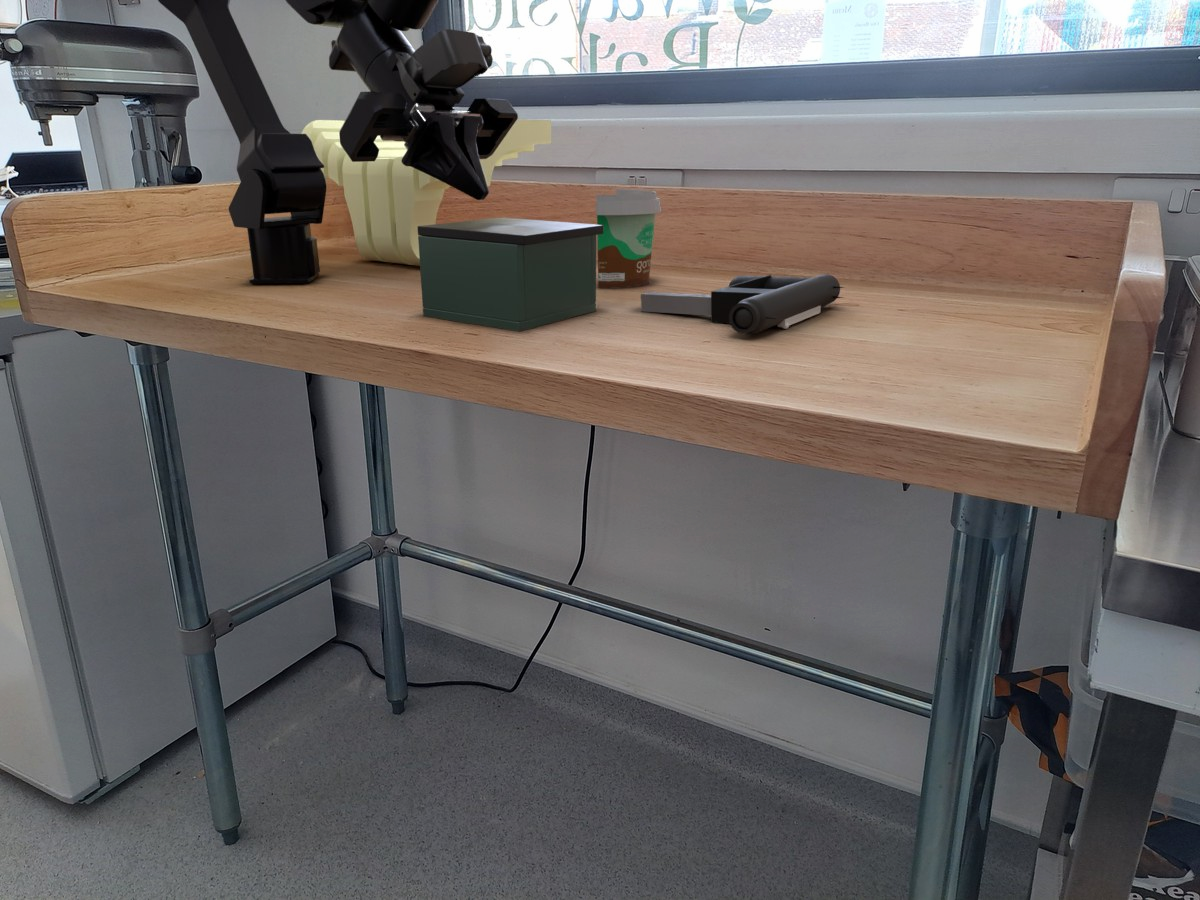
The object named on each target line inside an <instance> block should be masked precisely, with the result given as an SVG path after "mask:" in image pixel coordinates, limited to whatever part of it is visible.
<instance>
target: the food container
mask: <svg viewBox="0 0 1200 900" xmlns="http://www.w3.org/2000/svg"><path fill="white" fill-rule="evenodd" d="M657 194H658V193H657V191H654V190H653V191H652V190H646V189H645V190H644V189H624V188H623V189H619V188H617V189H615V194H596V202H595V216H596V225H603V226H604V229H603V234H599V235H596V242H597V288H598V289H600V288H601V289H620V288H621V289H622V288H623V289H624V288H635V287H641V286H645V285H647V284H649V283H650V274H651V263H652V253H653V245H654V244H653V242H654V232H655V223H656V222H655V221H656V220H655V219H656V214H659V213H661V212H662V208H661V202H660V198H659V197H658V195H657Z"/></svg>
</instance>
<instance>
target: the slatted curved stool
mask: <svg viewBox="0 0 1200 900" xmlns="http://www.w3.org/2000/svg"><path fill="white" fill-rule="evenodd" d="M344 122H345V120H339V119H337V120H336V119H335V120H334V119H315V120H312V121H310V122H308V123H307V124H306V125H305V126H304V128H303V129H302V131H301V133H300V134H306V135H307V136H308V137H309V138H310V140H311V141H312V144H313V147H314V150H315V153H316V155H317V157H318V158H319V160H320V161H321V162H322V164H323V165H324V168H321V170H322V172H323V174H324V177H325V180H326V179H330V180H332V181H333V182H334V183H335V184H337V186H338V187H343V194H344V196H343V197H344V199H345V202H346V205H347V209H348V212H349V216H350V219H351V220H350V221H351V224H352V228H353V229H352V230H353V237H354V241H355V245H356V249H357V250H358V253H359V254H360V256H361V257H362V258H363V259H365V260H367V261H375V262H382V263H383V262H385V263H391V264H400V265H408V266H415V267H416V266H417V267H420V257H419V242H418V236H422V235H418V226H424V225H434V224H437V216H438V212H439V208H440V205H441V204H442V201H443V197H444V194H445V190H448V189H450V188H451V187H452V186H450V185H448V184H446V183H444V182H442V181H440V180H438V179H436V178H434V177H432V176H430V175H428V174H426V173H424V172H421V171H419V170H417V169H415V168H413V167H410V166H405V165H404V164H403V163H402V158H403V156H404V155H405V153H406V152H407V149H406V147H405V146H404V144H405V143H406V142H404V141H383V140H382V139H381V138H380V136H377V138H376V139H375V141H374V143H375V144H376V146H377V147H378V149H379V153H378V157H377V158H376V160H375V161H367V162H352V161H351V159H350V158H349V156H348V155H347V153H346V152H345V151H344V149H343V148H342V146H341V144H340V136H339V132H340V129H341V127H342V126H343V124H344ZM538 145H552V120H551V119H550V120H549V119H524V118H523V119H521V118H518V119H517V120H516V122H515V123H514V125H513V126H512V127H511V129H510V130H509V132H508V133H507V135H506V136H505V137H504V139H503V140H502V142H501V143H500V145H499V146H498V147H497V149H496V150H495V152H494V153H493V155H491V156H490V157H488V158H487V159H480V163H481V166H482V169H483V173H484V176H485V180H486V183H487V186H488V187H491V184H492V176H493V173H494V169H495V167H503V161H505V160H506V161H507V160H518V159H519V153H532V152H533V153H534V152H535V146H538Z"/></svg>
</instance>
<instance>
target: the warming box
mask: <svg viewBox="0 0 1200 900" xmlns="http://www.w3.org/2000/svg"><path fill="white" fill-rule="evenodd" d="M418 242H419V257H420V266H419V271H420V285H421V287H420V288H421V299H422V300H421V302H422V316H423V317H426V318H433V319H439V320H445V321H450V322H451V321H453V322H458V323H464V324H469V325H477V326H482V327H489V328H497V329H501V330H502V329H503V330H508V331H514V332H522V331H526V330H531V329H534V328H538V327H542V326H546V325H550V324H553V323H556V322H560V321H564V320H567V319H571V318H575V317H579V316H582V315H586V314H590V313H594V312H597V235H592V236H585V237H578V238H571V239H564V240H558V241H551V242H544V243H537V244H530V245H516V244H506V243H495V242H485V241H474V240H464V239H453V238H443V237H432V236H418Z"/></svg>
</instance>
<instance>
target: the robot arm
mask: <svg viewBox="0 0 1200 900" xmlns="http://www.w3.org/2000/svg"><path fill="white" fill-rule="evenodd" d="M439 1H440V0H285V2H286V3H287V4H288V6H289V7H290V8H292V10H293V11H295V13H297V14H298V15H299V17H301V18H302V19H303V20H304V21H305V22H306V23H308V24H311V25H314V26H323V27H330V28H338V29H340V31H339V33H338V35H337V37H336V39H332V40H331V41H330V45H331V51H330V54H329V56H328V67H329V69H330V70H332V71H342V72H352V73H353V72H355V73H356V74H357V75H358V76H359V78H360V79H361V81H362V82H363V84H364V85H365V86H366V87H367V89H368V91H360V92H359V94H358V96H357V97H356V99H355V102H354V104H353V105H352V107H351V109H350V111H349V113H348V114H347V116H346V118H345V120H344V121H345V122H344V124H343V126H342V127H341V129H340V132H339V136H340V144H341V146H342V148H343V149H344V151H345V152H346V153H347V155H348V156H349V158H350V159H351V161H352V162H367V161H375V160H376V158H377V157H378V153H379V149H378V147H377V146H376V144H375V143H374V141H375V139H376V138H377V136H380V138H381V139H382V140H383V141H404V142H406V143H405V144H404V146H405V147H406V149H407V152H406V153H405V155H404V156H403V158H402V163H403V164H404V165H405V166H410V167H413V168H415V169H417V170H419V171H421V172H424V173H426V174H428V175H430V176H432V177H434V178H436V179H438V180H440V181H442V182H444V183H446V184H448V185H450V186H451V187H452V188H454V189H456V190H458V191H459V192H461V193H463V194H464V195H467V196H469V197H471V198H473V199H474V200H476V201H484V200H485V199H486V198H487V196H488V195H489V193H490V189H489V186H487V183H486V180H485V176H484V173H483V169H482V166H481V163H480V159H487V158H488V157H490V156H491V155H493V153H494V152H495V150H496V149H497V147H498V146H499V145H500V143H501V142H502V140H503V139H504V137H505V136H506V135H507V133H508V132H509V130H510V129H511V127H512V126H513V125H514V123H515V122H516V120H517V119H519V115H518V113H517V111H516V109H515V108H514V107H513V106H512V104H511V103H510V101H509V100H508V99H501V98H486V97H485V98H474V99H473V101H472V102H471V104H470V105H469V106H468V109H467V110H466V111H465V110H456V109H455V108H454V107H455V105H456V104H457V105H459V104H460V103H461V101H463V98H464V96H465V95H466V93H465V91H463V89H462V87H463V86H465V85H466V84H467V83H469V82H470V81H472V80H473V79H475V77H479V76H480V75H483V74H485V73H486V72H487V71H488V70H489V69H490V68H491V67H492V65H493V60H494V58H493V55H492V51H493V49H492V47H491V45H489V44H487V43H486V42H485V40H484V38H483V36H480V35H478V34H476V33H475V32H473V31H465V30H459V29H451V28H448V29H443V30H440V31H438V32H437V33H435V34H434V35H433V36H431V37H430V38H429V39H428V40H427V41H425V42H424V43H423V44H422V45H420V46H419V47H418V48H417V49H414V47H413V45H412V44H411V43H410V42H409V40H408V39H407V37H406V36H405V35H404V33H403V32H408V31H409V30H410V29H411V30H415V31H417V30H422V29H423V28H425V26H426V24H427V23H428V21H429V19H430V17H431V16H432V14H433V12H434V10H435V8H436V6H437V5H438V3H439ZM157 2H158V3H159V4H160V5H161V6H162V7H163V8H165V9H166V10H167V11H168V12H170V13H171V14H172V15H173V16H174V17H176V19H178V20H180V22H182V23H183V25H184V26H185V28H186V29H187V31H188V34H189V36H190V38H191V40H192V42H193V45H194V47H195V49H196V51H197V53H198V55H199V57H200V60H201V62H202V64H203V66H204V69H205V70H206V73H207V75H208V77H209V79H210V82H211V83H212V86H213V87H214V90H215V92H216V94H217V96H218V98H219V100H220V103H221V105H222V107H223V109H224V111H225V114H226V115H227V118H228V120H229V122H230V125H231V126H232V129H233V131H234V133H235V135H236V137H237V139H238V142H239V152H238V156H237V158H238V159H237V163H236V172H237V174H238V177H239V180H240V182H239V184H238V187H237V189H236V191H235V193H234V195H233V197H232V199H231V201H230V204H229V206H228V213H229V216H230V219H231V222H232V224H233V227H235V228H242V229H246V230H247V238H248V245H249V252H250V259H251V267H252V274H253V276H252V277H251V278H249V279H248V282H249V284H307V283H310V282H312V281H313V280H314V279H316V278H317V277H319V276H320V272H321V267H320V258H319V249H318V248H319V247H318V241H317V238H316V237H315V236H312V230H311V225H312V224H315V225H321V224H322V223H323V220H324V219H323V218H324V210H325V203H326V196H327V185H328V184H327V180H326V179H325V177H324V174H323V172H322V170H321V168H324V165H323V164H322V162H321V161H320V160H319V158H318V157H317V155H316V153H315V150H314V147H313V144H312V141H311V140H310V138H309V137H308V136H307V135H306V134H301V133H291V132H290V131H288V129H286V128H285V126H284V125H283V122H282V121H281V119H280V117H279V114H278V113H277V110H276V108H275V106H274V103H273V102H272V100H271V97H270V95H269V93H268V91H267V88H266V87H265V84H264V82H263V79H262V78H261V76H260V73H259V71H258V70H257V67H256V65H255V63H254V60H253V58H252V55H251V54H250V52H249V50H248V48H247V46H246V43H245V41H244V39H243V37H242V35H241V33H240V30H239V28H238V26H237V23H236V22H235V19H234V17H233V16H232V12H231V10H230V4H231V3H230V2H231V0H157ZM287 213H290V215H287V216H286V215H285V216H273V217H266V215H276V214H287Z"/></svg>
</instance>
